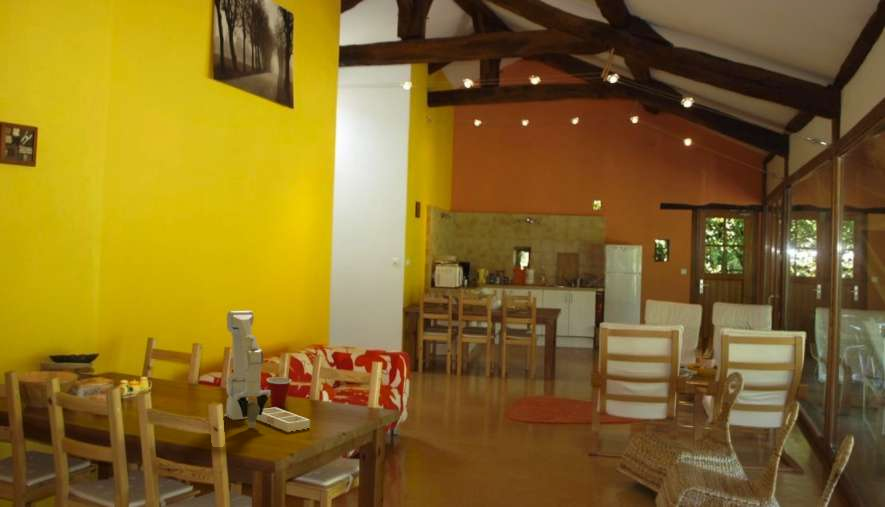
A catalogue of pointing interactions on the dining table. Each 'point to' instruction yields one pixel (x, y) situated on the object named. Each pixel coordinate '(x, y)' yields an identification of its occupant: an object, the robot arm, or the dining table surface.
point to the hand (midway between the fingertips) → (252, 415)
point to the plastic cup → (278, 390)
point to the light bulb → (252, 413)
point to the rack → (283, 419)
